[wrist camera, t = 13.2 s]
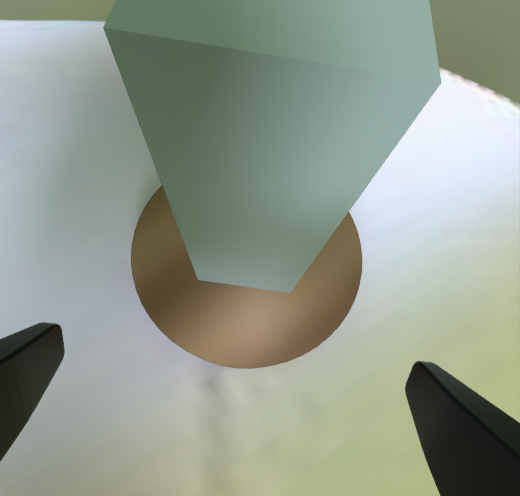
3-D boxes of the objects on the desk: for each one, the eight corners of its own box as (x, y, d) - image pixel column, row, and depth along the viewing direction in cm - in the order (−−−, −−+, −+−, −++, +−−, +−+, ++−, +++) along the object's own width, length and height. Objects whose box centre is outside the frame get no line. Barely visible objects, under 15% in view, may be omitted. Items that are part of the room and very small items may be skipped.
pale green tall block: (297, 212, 18) (416, -86, 6) (290, 293, 17) (440, 83, 5) (214, 200, 18) (179, -129, 6) (198, 280, 16) (102, 27, 4)
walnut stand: (384, 278, 21) (407, 263, 18) (229, 421, 17) (229, 430, 14) (260, 151, 24) (264, 121, 21) (106, 246, 20) (85, 225, 17)
